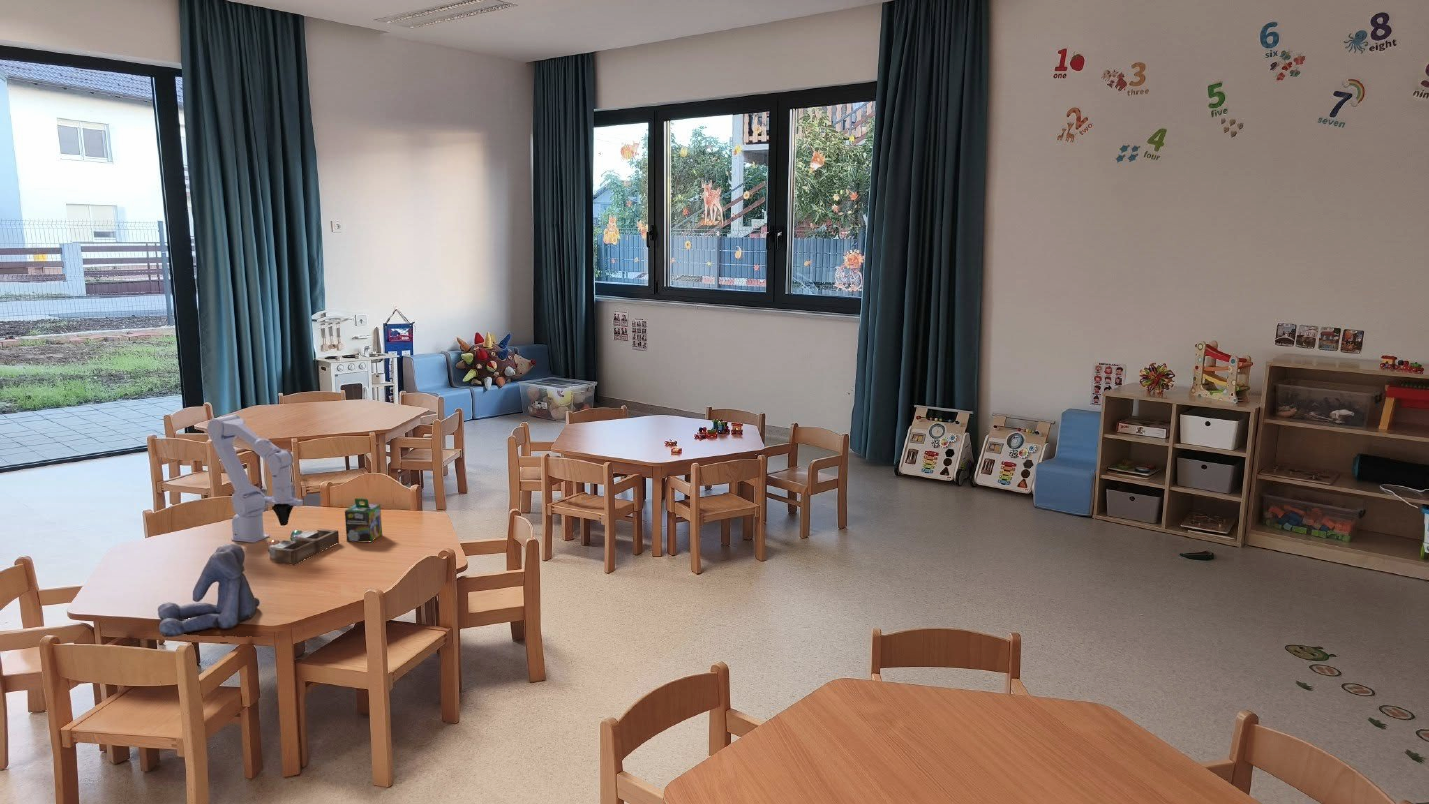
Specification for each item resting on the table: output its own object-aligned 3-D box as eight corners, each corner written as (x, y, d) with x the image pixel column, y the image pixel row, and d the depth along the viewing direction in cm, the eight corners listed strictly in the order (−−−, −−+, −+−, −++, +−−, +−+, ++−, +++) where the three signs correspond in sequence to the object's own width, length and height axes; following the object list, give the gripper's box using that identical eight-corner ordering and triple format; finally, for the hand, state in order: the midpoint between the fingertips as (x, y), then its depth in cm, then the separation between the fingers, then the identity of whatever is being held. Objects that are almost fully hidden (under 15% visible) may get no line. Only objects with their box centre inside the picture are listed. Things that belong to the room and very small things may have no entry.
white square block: (265, 557, 302) (264, 543, 301) (279, 550, 308) (278, 537, 307) (283, 559, 300) (282, 545, 299) (297, 552, 307) (296, 539, 306)
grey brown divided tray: (275, 562, 298) (274, 549, 297) (320, 541, 320) (320, 528, 319) (294, 565, 297) (293, 551, 296) (338, 543, 318) (338, 530, 318)
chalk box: (382, 535, 329) (381, 494, 326) (370, 543, 320) (369, 502, 317) (358, 533, 330) (356, 493, 327) (345, 541, 321) (343, 500, 318)
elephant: (161, 612, 257) (155, 541, 254) (260, 600, 268) (256, 531, 264) (151, 641, 239) (145, 565, 235) (259, 627, 249) (254, 554, 246)
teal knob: (288, 546, 312) (287, 533, 312) (301, 540, 319) (300, 527, 318) (306, 548, 311) (305, 535, 310) (319, 542, 317) (318, 529, 317)
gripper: (255, 487, 311) (257, 526, 313) (292, 491, 308) (294, 530, 310) (269, 482, 318) (272, 520, 320) (306, 485, 315) (308, 524, 317)
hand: (284, 524), depth 316 cm, fingers closed
